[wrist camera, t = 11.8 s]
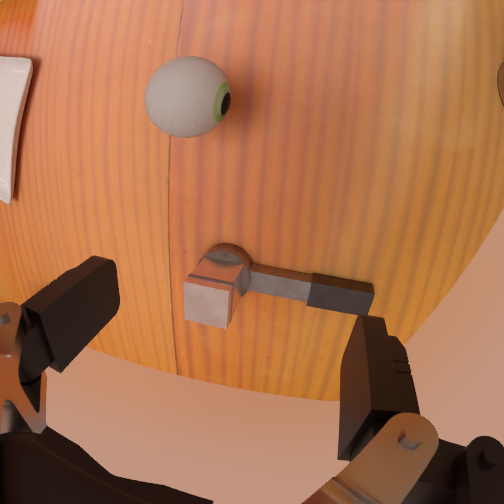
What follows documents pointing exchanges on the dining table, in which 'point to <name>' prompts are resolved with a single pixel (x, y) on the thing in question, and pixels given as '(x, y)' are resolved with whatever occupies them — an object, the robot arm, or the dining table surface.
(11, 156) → the square plate
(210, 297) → the silver block
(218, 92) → the lollipop
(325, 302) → the ratchet
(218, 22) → the dining table surface
